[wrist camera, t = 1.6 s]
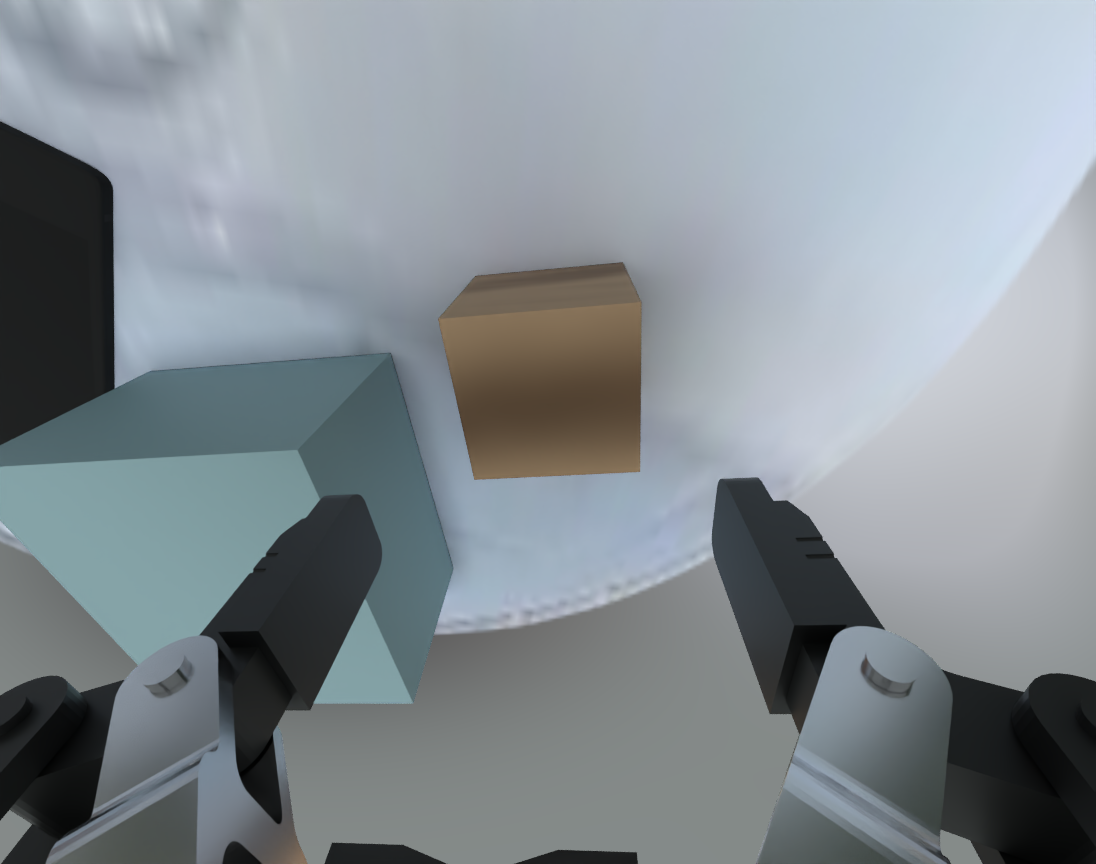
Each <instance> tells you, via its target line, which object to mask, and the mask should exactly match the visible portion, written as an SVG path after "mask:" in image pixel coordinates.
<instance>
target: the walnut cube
mask: <svg viewBox="0 0 1096 864" xmlns="http://www.w3.org/2000/svg"><path fill="white" fill-rule="evenodd" d="M438 321H439V325H440V329H441V334H442V338H443V343H444V347H445V352H446V356H447V360H448V365H449V369H450V374H451V378H452V383H453V387H454V391H455V396H456V400H457V405H458V409H459V414H460V418H461V422H462V427H463V431H464V436H465V440H466V445H467V449H468V453H469V458H470V462H471V467H472V471H473V476H474V480H478V479H499V478H520V477H541V476H562V475H583V474H604V473H625V472H640V411H641V300H640V298H639V296H638V294H637V292H636V290H635V287H634V285H633V283H632V281H631V279H630V277H629V275H628V272H627V270H626V268H625V266H624V264H623V262H622V263H611V264H600V265H589V266H579V267H568V268H557V269H546V270H535V271H524V272H514V273H503V274H492V275H481V276H475V277H474V279H473V280H472V281H471V282H470V283H469V284H468V285H467V287H466V288H465V289H464V290H463V291H462V292H461V293H460V295H459V296H458V297H457V298H456V299H455V300H454V301H453V303H452V304H451V305H450V306H449V307H448V308H447V309H446V311H445V312H444V313H443V314H442V315H441V316H440V317H439V319H438Z"/></svg>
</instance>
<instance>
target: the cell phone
mask: <svg viewBox="0 0 1096 864" xmlns="http://www.w3.org/2000/svg"><path fill="white" fill-rule="evenodd" d="M113 389H114V277H113V189H112V185H111V182H110V181H109V179H108V178H107V177H106V176H105V175H104V174H102V173H101V172H100V171H98V170H97V169H95V168H93V167H91V166H90V165H88V164H86V163H84V162H82V161H80V160H78V159H76V158H74V157H72V156H70V155H68V154H66V153H64V152H62V151H60V150H58V149H55V148H53V147H51V146H49V145H47V144H45V143H43V142H41V141H39V140H37V139H35V138H33V137H31V136H29V135H27V134H25V133H23V132H21V131H19V130H17V129H15V128H12V127H10V126H8V125H6V124H4V123H2V122H0V445H2V444H4V443H6V442H8V441H10V440H12V439H14V438H16V437H18V436H20V435H22V434H24V433H26V432H28V431H30V430H32V429H34V428H36V427H38V426H40V425H42V424H44V423H46V422H48V421H50V420H53V419H55V418H57V417H59V416H61V415H63V414H65V413H67V412H69V411H71V410H73V409H75V408H77V407H79V406H81V405H83V404H85V403H87V402H89V401H91V400H93V399H95V398H97V397H99V396H101V395H103V394H105V393H107V392H109V391H111V390H113Z"/></svg>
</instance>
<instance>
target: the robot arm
mask: <svg viewBox="0 0 1096 864" xmlns="http://www.w3.org/2000/svg"><path fill="white" fill-rule="evenodd" d="M712 546H713V553H714V558H715V561H716V564H717V567H718V570H719V573H720V576H721V578H722V581H723V584H724V587H725V590H726V592H727V595H728V598H729V601H730V604H731V606H732V609H733V612H734V615H735V618H736V620H737V623H738V626H739V629H740V632H741V634H742V637H743V640H744V643H745V646H746V648H747V651H748V654H749V657H750V660H751V662H752V665H753V668H754V671H755V674H756V676H757V679H758V682H759V685H760V688H761V690H762V693H763V696H764V699H765V702H766V704H767V707H768V710H769V713H770V714H792V717H793V719H794V722H795V725H796V727H797V729H798V732H799V737H798V740H797V743H796V746H795V749H794V752H793V755H792V758H791V761H790V764H789V767H788V770H787V772H786V776H785V778H784V781H783V784H782V787H781V790H780V793H779V796H778V799H777V802H776V805H775V808H774V811H773V814H772V817H771V820H770V822H769V825H768V828H767V831H766V834H765V837H764V840H763V843H762V846H761V849H760V852H759V855H758V858H757V861H756V864H951V863H950V861H949V860H948V858H946V857H945V856H943V855H942V853H941V849H940V831H941V830H944V831H947V832H950V833H952V834H955V835H958V836H960V837H963V838H966V839H969V840H970V841H971V843H972V844H973V847H974V848H975V850H976V852H977V854H978V856H979V857H980V859H981V861H982V863H983V864H1096V682H1095V681H1092V680H1089V679H1086V678H1082V677H1078V676H1074V675H1068V674H1060V673H1059V674H1058V673H1056V674H1046V675H1041V676H1040V677H1038V678H1036V679H1034V681H1033V682H1032V683H1031V684H1030V685H1029V687H1028V688H1027V689H1026V691H1025V692H1021V691H1017V690H1014V689H1009V688H1006V687H1002V686H998V685H994V684H990V683H986V682H983V681H979V680H975V679H971V678H967V677H963V676H960V675H956V674H953V673H950V672H947V671H944V670H942V669H941V668H940V667H939V666H938V665H937V663H936V662H935V661H934V660H933V659H932V658H931V657H930V656H929V655H927V654H926V653H925V652H924V651H923V650H921V649H920V648H918V646H916V645H915V644H913V643H911V642H910V641H908V640H906V639H905V638H902V637H901V636H899V635H897V634H894V633H892V632H889V631H886V630H885V629H884V627H883V626H882V625H881V623H880V622H879V620H878V619H877V617H876V616H875V614H874V613H873V611H872V610H871V608H870V607H869V605H868V604H867V602H866V601H865V599H864V598H863V596H862V595H861V593H860V592H859V590H858V589H857V588H856V586H855V585H854V583H853V581H852V580H851V578H850V577H849V576H848V574H847V573H846V571H845V570H844V568H843V567H842V565H841V564H840V562H839V561H838V559H837V558H834V553H833V552H832V550H831V549H830V547H829V546H828V544H827V543H826V541H823V539H822V535H821V534H820V533H819V531H818V530H817V528H816V526H815V525H814V523H813V522H812V521H811V519H810V518H809V516H807V515H806V514H804V513H803V512H802V511H800V510H799V509H798V508H797V507H795V506H794V505H793V504H791V503H790V502H789V501H773V500H772V498H771V497H770V495H769V493H768V491H767V490H766V488H765V486H764V485H763V483H762V482H761V480H760V479H759V478H756V477H755V478H733V479H720V480H719V482H718V486H717V494H716V503H715V511H714V520H713V529H712ZM381 561H382V546H381V542H380V539H379V536H378V534H377V531H376V529H375V526H374V523H373V521H372V518H371V515H370V513H369V510H368V507H367V505H366V502H365V500H364V498H363V497H362V496H361V495H359V494H349V495H328V496H324V497H322V498H321V499H320V500H319V502H318V503H317V504H316V505H315V507H314V508H313V509H312V511H311V512H310V513H309V514H308V516H307V517H306V518H304V519H301V520H299V521H298V522H297V523H295V524H294V525H293V526H292V527H290V528H289V529H288V530H286V531H285V532H284V533H282V534H281V535H280V536H279V537H278V539H277V540H276V541H275V542H274V544H273V545H272V546H271V547H270V548H269V550H268V551H267V552H266V556H265V557H262V558H261V560H260V561H259V562H258V563H257V565H256V566H255V567H254V568H253V573H249V574H248V576H247V577H246V578H245V579H244V581H243V582H242V583H241V584H240V586H239V587H238V588H237V589H236V591H235V592H234V593H233V594H232V595H231V597H230V598H229V599H228V600H227V602H226V603H225V604H224V605H223V607H222V608H221V609H220V610H219V612H218V613H217V614H216V615H215V616H214V618H213V619H212V620H211V621H210V623H209V624H208V625H207V626H206V628H205V629H204V630H203V631H202V633H201V634H200V635H199V636H191V637H186V638H183V639H180V640H177V641H175V642H173V643H170V644H168V645H167V646H165V647H163V648H161V649H159V650H158V651H156V652H155V653H153V654H152V655H150V656H149V657H148V658H146V659H145V660H144V661H143V662H141V663H140V664H139V665H138V666H137V667H136V668H135V669H134V670H133V671H132V672H131V673H130V674H129V675H128V677H127V678H126V679H125V680H122V681H119V682H116V683H112V684H109V685H105V686H102V687H98V688H95V689H91V690H88V691H85V692H81V693H79V692H78V691H77V690H76V689H75V688H74V687H72V686H71V685H70V684H69V683H68V682H67V681H66V680H65V679H64V678H62V677H59V676H46V677H41V678H37V679H34V680H31V681H28V682H26V683H23V684H21V685H19V686H17V687H15V688H13V689H11V690H9V691H7V692H5V693H4V694H2V695H0V820H1V819H2V818H3V816H4V815H5V814H6V813H7V812H8V811H9V810H11V811H12V812H14V813H16V814H17V815H19V816H20V817H22V818H23V819H25V820H27V821H28V822H30V823H31V824H32V825H31V827H30V828H29V829H28V830H27V832H26V833H25V834H24V835H23V837H22V838H21V839H20V841H19V842H18V843H17V844H16V846H15V847H14V848H13V850H12V851H11V852H10V853H9V855H8V856H7V857H6V859H5V860H4V861H3V862H2V863H1V864H307V861H306V858H305V856H304V853H303V851H302V849H301V847H300V845H299V842H298V839H297V836H296V832H295V827H294V821H293V814H292V806H291V799H290V792H289V784H288V777H287V769H286V762H285V755H284V747H283V740H282V734H281V731H280V729H279V727H278V726H277V725H278V722H279V721H280V719H281V717H282V715H283V713H284V712H285V710H310V709H311V707H312V705H313V703H314V701H315V699H316V697H317V695H318V693H319V691H320V689H321V687H322V685H323V683H324V681H325V679H326V677H327V675H328V673H329V671H330V669H331V667H332V665H333V663H334V661H335V659H336V657H337V655H338V653H339V650H340V648H341V646H342V644H343V642H344V640H345V638H346V636H347V634H348V632H349V630H350V628H351V626H352V624H353V622H354V620H355V618H356V616H357V614H358V612H359V610H360V608H361V606H362V604H363V602H364V600H365V598H366V596H367V594H368V591H369V589H370V587H371V585H372V583H373V581H374V579H375V577H376V575H377V573H378V571H379V569H380V566H381ZM325 864H446V863H444V862H441V861H439V860H437V859H434V858H432V857H430V856H428V855H425V854H423V853H420V852H418V851H416V850H414V849H411V848H409V847H406V846H404V845H387V844H386V845H385V844H355V843H332V845H331V847H330V850H329V853H328V856H327V858H326V861H325ZM516 864H638V861H637V853H636V852H604V851H603V852H602V851H574V850H557V851H554V852H550V853H547V854H544V855H541V856H538V857H534V858H531V859H528V860H525V861H522V862H519V863H516Z"/></svg>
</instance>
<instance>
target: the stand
mask: <svg viewBox="0 0 1096 864" xmlns="http://www.w3.org/2000/svg"><path fill="white" fill-rule="evenodd" d="M349 494H359V495H361V496H362V497H363V498H364V500H365V502H366V505H367V507H368V510H369V513H370V515H371V518H372V521H373V523H374V526H375V529H376V531H377V534H378V536H379V539H380V542H381V546H382V561H381V566H380V569H379V571H378V573H377V575H376V577H375V579H374V581H373V583H372V585H371V587H370V589H369V591H368V594H367V596H366V598H365V600H364V602H363V604H362V606H361V608H360V610H359V612H358V614H357V616H356V618H355V620H354V622H353V624H352V626H351V628H350V630H349V632H348V634H347V636H346V638H345V640H344V642H343V644H342V646H341V648H340V650H339V653H338V655H337V657H336V659H335V661H334V663H333V665H332V667H331V669H330V671H329V673H328V675H327V677H326V679H325V681H324V683H323V685H322V687H321V689H320V691H319V693H318V695H317V697H316V699H315V701H314V703H413V702H414V699H415V695H416V692H417V689H418V685H419V682H420V679H421V675H422V672H423V669H424V665H425V662H426V659H427V655H428V652H429V649H430V645H431V642H432V638H433V635H434V632H435V629H436V625H437V622H438V618H439V615H440V612H441V608H442V605H443V602H444V598H445V595H446V592H447V588H448V585H449V582H450V578H451V575H452V571H453V566H452V562H451V559H450V556H449V552H448V549H447V545H446V542H445V538H444V535H443V532H442V528H441V525H440V521H439V518H438V514H437V511H436V508H435V504H434V501H433V497H432V494H431V490H430V487H429V484H428V480H427V477H426V473H425V470H424V466H423V463H422V460H421V456H420V453H419V449H418V446H417V442H416V439H415V436H414V432H413V429H412V425H411V422H410V418H409V415H408V412H407V408H406V405H405V401H404V398H403V394H402V391H401V388H400V384H399V381H398V377H397V374H396V371H395V367H394V364H393V360H392V357H391V353H385V354H372V355H359V356H346V357H333V358H320V359H307V360H293V361H280V362H267V363H254V364H241V365H228V366H215V367H201V368H188V369H175V370H162V371H150V372H148V373H146V374H144V375H142V376H140V377H137V378H135V379H133V380H131V381H129V382H127V383H125V384H123V385H121V386H119V387H117V388H115V389H113V390H111V391H109V392H107V393H105V394H103V395H101V396H99V397H97V398H95V399H93V400H91V401H89V402H87V403H85V404H83V405H81V406H79V407H77V408H75V409H73V410H71V411H69V412H67V413H65V414H63V415H61V416H59V417H57V418H55V419H53V420H50V421H48V422H46V423H44V424H42V425H40V426H38V427H36V428H34V429H32V430H30V431H28V432H26V433H24V434H22V435H20V436H18V437H16V438H14V439H12V440H10V441H8V442H6V443H4V444H2V445H0V521H1V522H2V523H3V524H4V525H5V526H6V527H7V528H8V529H9V530H10V531H11V532H12V533H13V534H14V535H15V536H16V538H17V539H18V540H19V541H20V542H21V543H22V544H23V545H24V546H25V547H26V548H27V549H28V550H29V551H30V552H31V553H32V554H33V555H34V556H35V557H36V559H37V560H38V561H39V562H40V563H41V564H42V565H43V566H44V567H45V568H46V569H47V570H48V571H49V572H50V573H51V574H52V575H53V576H54V577H55V578H56V580H57V581H59V582H60V584H61V585H62V586H63V587H64V588H65V589H66V590H67V591H68V592H69V593H70V594H71V595H72V596H73V597H74V598H75V599H76V601H77V602H78V603H79V604H80V605H81V606H82V607H83V608H84V609H85V610H86V611H87V612H88V613H89V614H90V615H91V616H92V617H93V618H94V619H95V620H96V622H97V623H98V624H99V625H100V626H101V627H102V628H103V629H104V630H105V631H106V632H107V633H108V634H109V635H110V636H111V637H112V638H113V639H114V640H115V641H116V643H117V644H118V645H119V646H121V648H122V649H123V650H124V651H125V652H126V653H127V654H128V655H129V656H130V657H131V658H132V659H133V660H134V661H135V662H136V663H137V665H139V664H140V663H141V662H143V661H144V660H145V659H146V658H148V657H149V656H150V655H152V654H153V653H155V652H156V651H158V650H159V649H161V648H163V647H165V646H167V645H168V644H170V643H173V642H175V641H177V640H180V639H183V638H186V637H191V636H199V635H200V634H201V633H202V631H203V630H204V629H205V628H206V626H207V625H208V624H209V623H210V621H211V620H212V619H213V618H214V616H215V615H216V614H217V613H218V612H219V610H220V609H221V608H222V607H223V605H224V604H225V603H226V602H227V600H228V599H229V598H230V597H231V595H232V594H233V593H234V592H235V591H236V589H237V588H238V587H239V586H240V584H241V583H242V582H243V581H244V579H245V578H246V577H247V576H248V574H249V573H253V568H254V567H255V566H256V565H257V563H258V562H259V561H260V560H261V558H262V557H265V556H266V552H267V551H268V550H269V548H270V547H271V546H272V545H273V544H274V542H275V541H276V540H277V539H278V537H279V536H280V535H281V534H282V533H284V532H285V531H286V530H288V529H289V528H290V527H292V526H293V525H294V524H295V523H297V522H298V521H299V520H301V519H304V518H306V517H307V516H308V514H309V513H310V512H311V511H312V509H313V508H314V507H315V505H316V504H317V503H318V502H319V500H320V499H321V498H322V497H324V496H328V495H349Z"/></svg>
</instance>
